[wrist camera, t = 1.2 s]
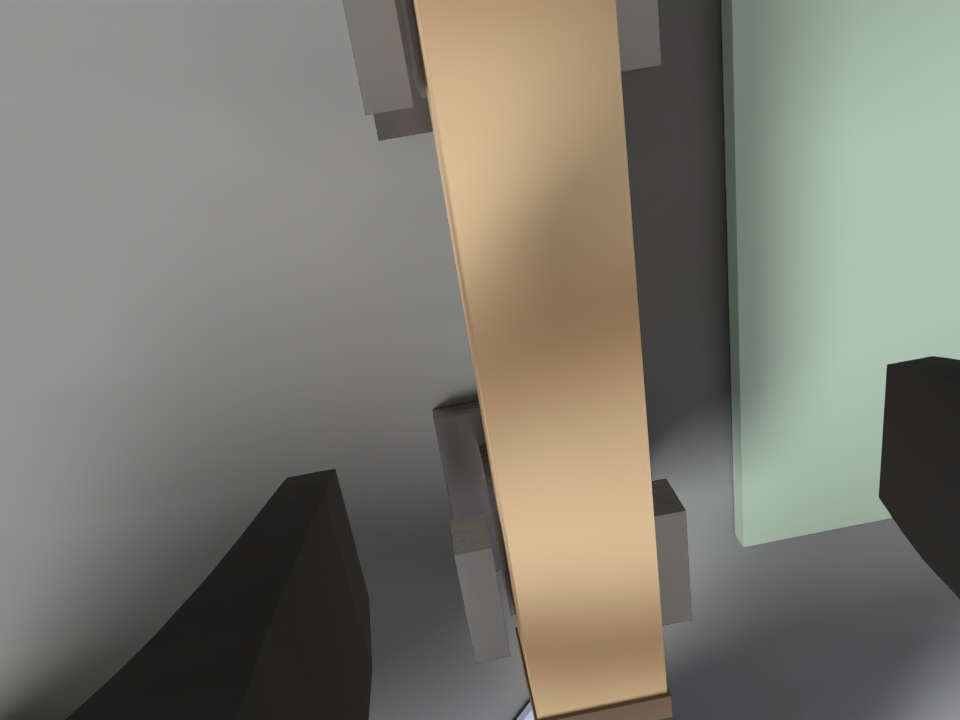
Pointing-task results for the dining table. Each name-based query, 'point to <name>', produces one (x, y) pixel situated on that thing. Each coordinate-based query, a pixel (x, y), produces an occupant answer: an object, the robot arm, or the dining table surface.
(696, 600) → the dining table surface
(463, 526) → the standards
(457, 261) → the rail
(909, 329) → the mat
